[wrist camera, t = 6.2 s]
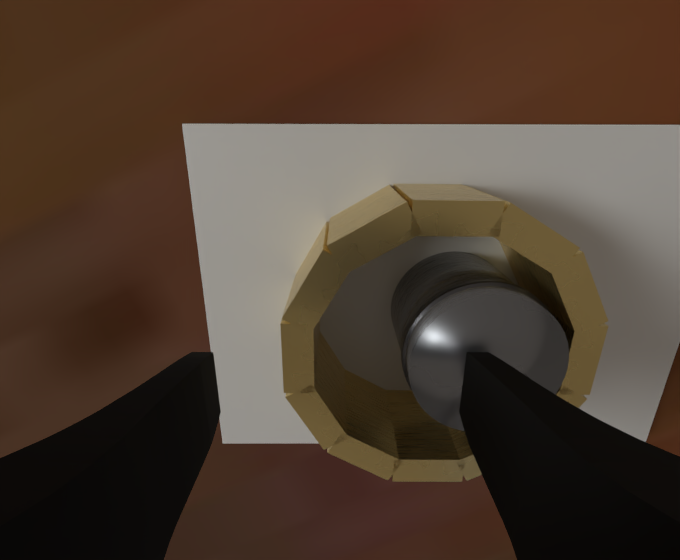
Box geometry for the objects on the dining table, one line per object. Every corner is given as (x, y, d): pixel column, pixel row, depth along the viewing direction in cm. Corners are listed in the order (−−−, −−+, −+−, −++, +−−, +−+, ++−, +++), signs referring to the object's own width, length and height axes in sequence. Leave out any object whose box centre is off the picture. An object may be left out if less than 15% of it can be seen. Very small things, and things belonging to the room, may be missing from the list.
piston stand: (726, 125, 15) (938, 119, 9) (630, 428, 19) (736, 533, 14) (192, 124, 15) (111, 117, 9) (228, 428, 19) (188, 534, 14)
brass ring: (562, 185, 14) (642, 202, 11) (517, 409, 18) (565, 481, 14) (291, 182, 14) (274, 199, 11) (298, 408, 18) (287, 480, 14)
